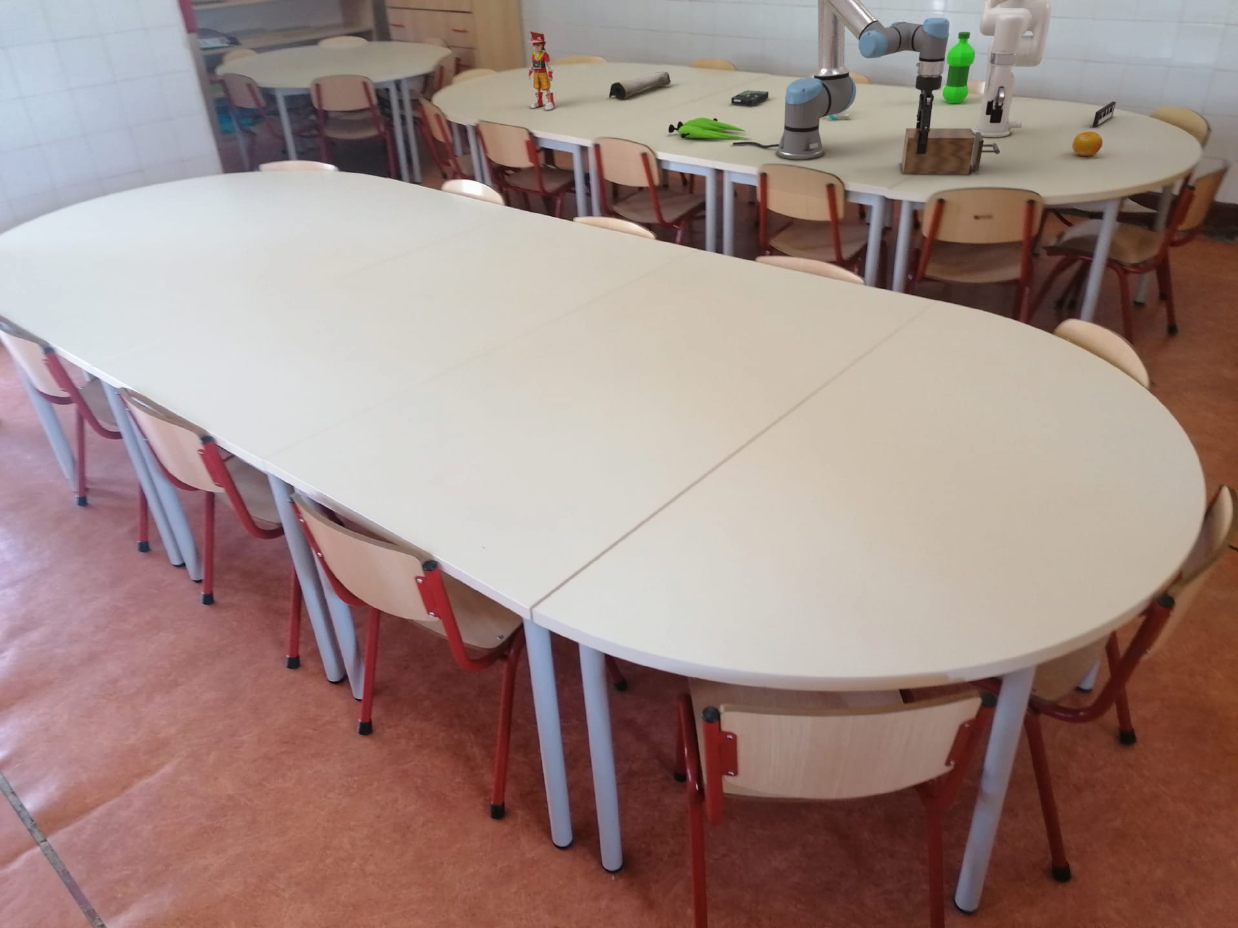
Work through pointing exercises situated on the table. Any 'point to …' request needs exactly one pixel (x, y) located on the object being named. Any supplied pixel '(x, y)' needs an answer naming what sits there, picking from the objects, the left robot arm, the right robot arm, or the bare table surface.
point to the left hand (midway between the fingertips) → (919, 148)
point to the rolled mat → (638, 84)
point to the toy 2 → (704, 129)
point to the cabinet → (939, 151)
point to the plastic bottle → (958, 69)
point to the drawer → (978, 150)
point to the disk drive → (749, 98)
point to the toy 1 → (541, 71)
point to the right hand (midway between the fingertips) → (992, 119)
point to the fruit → (1087, 143)
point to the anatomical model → (839, 116)
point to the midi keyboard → (1104, 113)
